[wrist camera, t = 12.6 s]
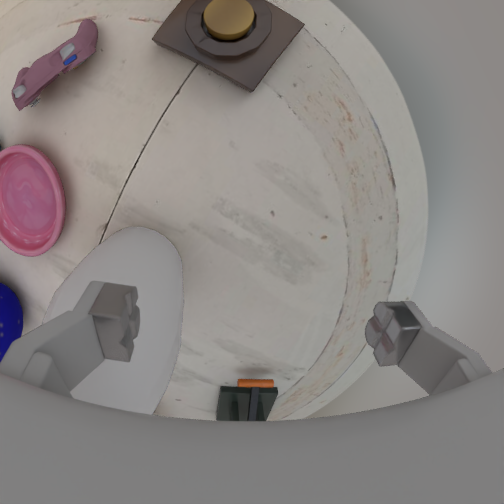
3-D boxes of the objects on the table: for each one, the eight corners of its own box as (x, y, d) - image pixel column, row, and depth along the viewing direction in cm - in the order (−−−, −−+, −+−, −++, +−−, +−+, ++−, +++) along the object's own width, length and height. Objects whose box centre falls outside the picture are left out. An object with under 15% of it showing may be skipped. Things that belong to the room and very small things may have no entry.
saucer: (74, 138, 22) (58, 142, 19) (79, 249, 28) (67, 263, 25) (-4, 144, 20) (-21, 150, 17) (6, 240, 26) (-7, 251, 23)
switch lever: (237, 375, 38) (239, 382, 35) (271, 376, 38) (275, 382, 36) (231, 445, 37) (232, 453, 34) (262, 445, 38) (265, 453, 35)
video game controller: (40, 97, 20) (14, 127, 16) (21, 70, 16) (-10, 94, 12) (112, 46, 19) (95, 62, 15) (94, 14, 16) (71, 21, 12)
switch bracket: (220, 386, 40) (222, 440, 32) (277, 387, 42) (286, 439, 33) (216, 415, 45) (217, 462, 36) (265, 416, 46) (271, 461, 37)
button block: (299, 30, 19) (311, 18, 16) (250, 93, 22) (255, 89, 19) (207, -18, 16) (204, -36, 13) (157, 44, 19) (145, 34, 15)
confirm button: (261, 16, 16) (264, 9, 14) (235, 48, 17) (236, 42, 16) (222, -4, 15) (222, -12, 13) (195, 28, 16) (193, 21, 14)
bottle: (171, 316, 33) (144, 533, 10) (88, 280, 29) (-2, 477, 7) (210, 242, 29) (198, 535, 6) (111, 197, 25) (-61, 426, 3)
